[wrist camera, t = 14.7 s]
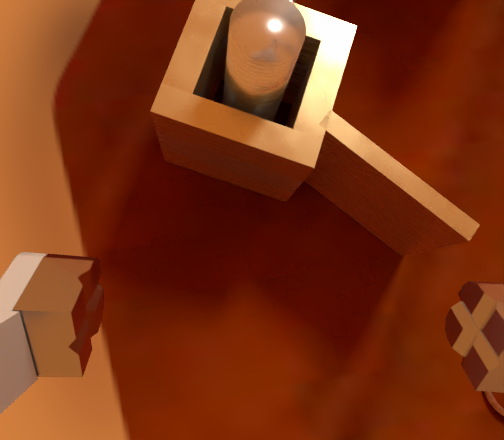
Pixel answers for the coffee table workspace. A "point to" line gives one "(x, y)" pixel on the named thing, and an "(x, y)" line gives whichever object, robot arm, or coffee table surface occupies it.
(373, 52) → the coffee table surface
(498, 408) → the key
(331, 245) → the coffee table surface
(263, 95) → the rounded cylinder
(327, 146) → the cream winged socket block
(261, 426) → the coffee table surface
